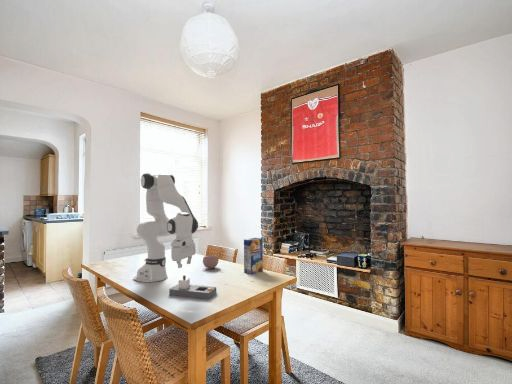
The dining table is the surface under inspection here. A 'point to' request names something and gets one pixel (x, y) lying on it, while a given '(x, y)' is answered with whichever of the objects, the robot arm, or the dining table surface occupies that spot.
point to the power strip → (193, 292)
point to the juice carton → (253, 255)
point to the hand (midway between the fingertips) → (184, 265)
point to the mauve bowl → (210, 261)
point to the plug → (184, 283)
